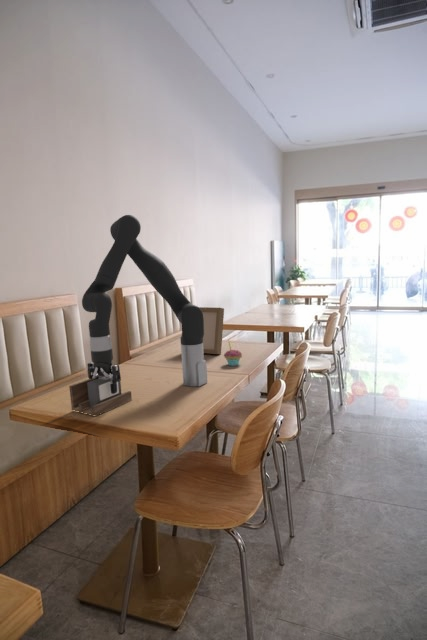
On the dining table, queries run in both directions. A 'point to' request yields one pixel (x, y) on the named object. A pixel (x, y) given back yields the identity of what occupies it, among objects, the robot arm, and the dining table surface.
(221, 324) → the photo frame
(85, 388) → the picture ledge
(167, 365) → the dining table surface
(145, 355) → the dining table surface
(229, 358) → the cupcake
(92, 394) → the mini frame
